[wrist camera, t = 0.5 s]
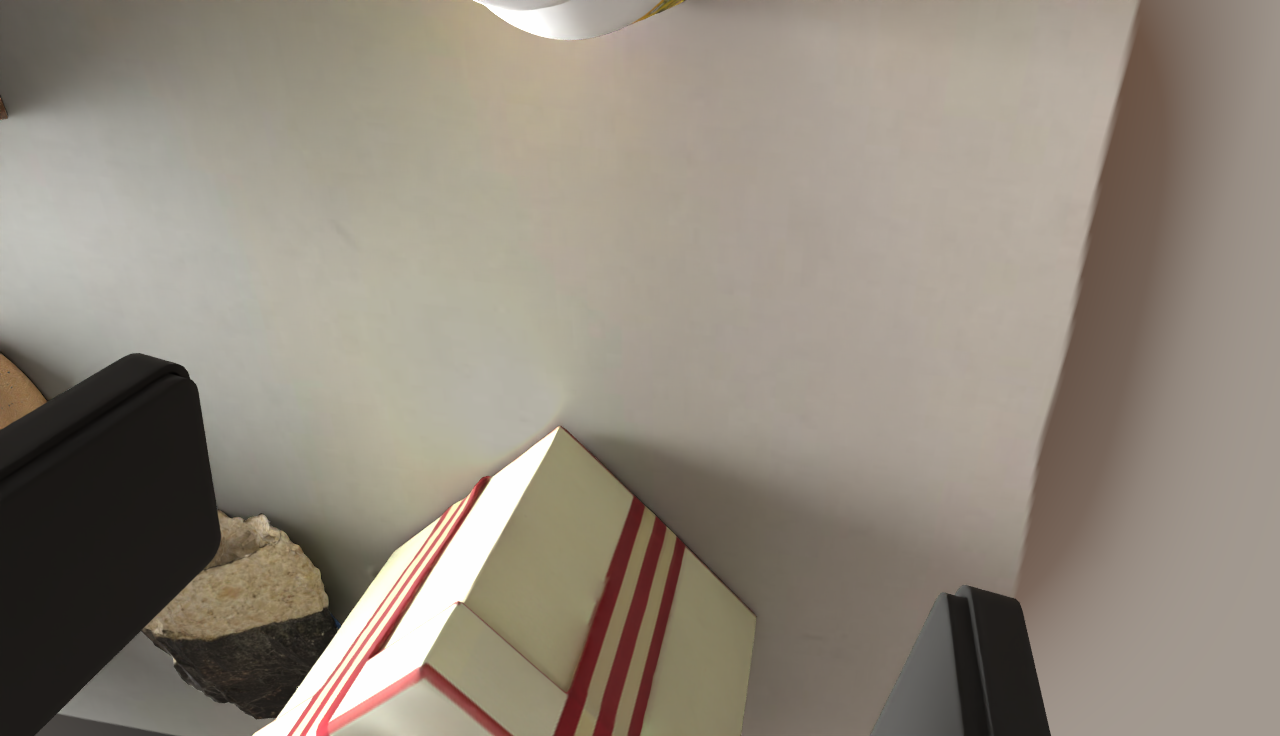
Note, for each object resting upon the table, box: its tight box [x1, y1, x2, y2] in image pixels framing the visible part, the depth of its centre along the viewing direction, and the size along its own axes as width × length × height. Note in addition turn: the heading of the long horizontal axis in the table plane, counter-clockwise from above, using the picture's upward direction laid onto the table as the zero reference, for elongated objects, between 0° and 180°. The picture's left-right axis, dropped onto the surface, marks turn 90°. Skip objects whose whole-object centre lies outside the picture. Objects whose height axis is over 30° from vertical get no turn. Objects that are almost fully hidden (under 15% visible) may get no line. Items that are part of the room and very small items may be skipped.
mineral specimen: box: [141, 509, 342, 719], centre depth 47 cm, size 13×7×15 cm
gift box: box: [253, 426, 756, 736], centre depth 35 cm, size 17×18×17 cm
